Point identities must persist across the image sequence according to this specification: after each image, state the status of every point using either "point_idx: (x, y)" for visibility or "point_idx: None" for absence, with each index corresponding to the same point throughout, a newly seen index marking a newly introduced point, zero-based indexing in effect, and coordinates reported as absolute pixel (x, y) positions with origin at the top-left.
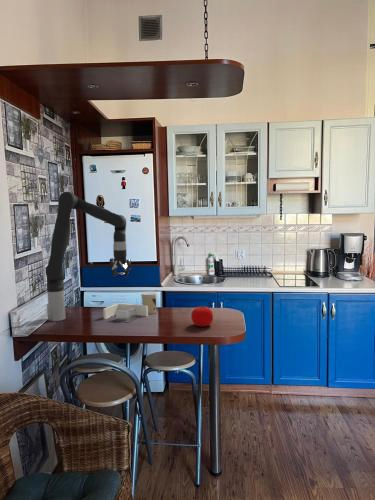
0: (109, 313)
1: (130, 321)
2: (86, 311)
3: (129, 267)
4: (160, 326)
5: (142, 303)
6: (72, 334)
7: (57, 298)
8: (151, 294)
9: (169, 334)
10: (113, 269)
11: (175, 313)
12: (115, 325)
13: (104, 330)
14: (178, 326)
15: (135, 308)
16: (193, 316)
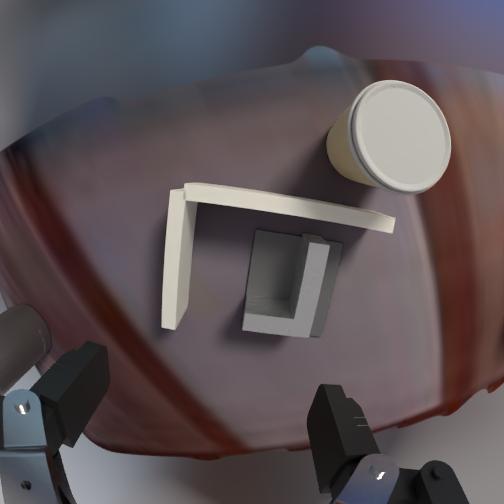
0: (185, 285)
1: (324, 320)
2: (41, 208)
3: (424, 500)
4: (445, 338)
5: (344, 165)
6: (190, 450)
7: (4, 393)
8: (434, 167)
9: (465, 385)
10: (58, 448)
11: (467, 157)
12: (281, 374)
13: (267, 420)
14: (489, 319)
15: (328, 248)
16: None
